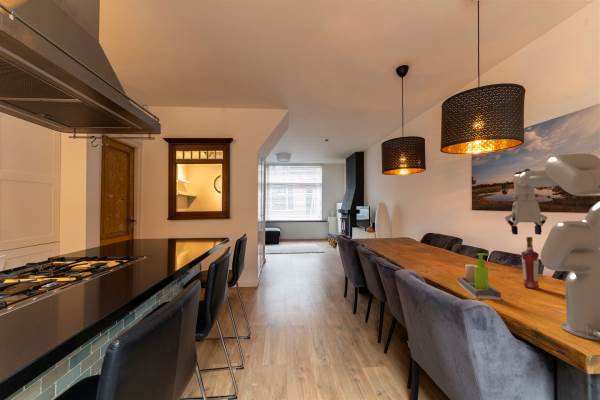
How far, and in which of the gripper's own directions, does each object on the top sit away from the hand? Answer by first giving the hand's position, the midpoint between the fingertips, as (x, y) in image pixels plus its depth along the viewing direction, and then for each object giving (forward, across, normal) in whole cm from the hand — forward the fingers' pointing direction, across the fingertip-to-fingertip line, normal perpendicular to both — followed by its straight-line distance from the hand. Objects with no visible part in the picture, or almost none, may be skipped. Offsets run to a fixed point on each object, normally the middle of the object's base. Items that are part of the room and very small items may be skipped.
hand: (526, 234), depth 126 cm
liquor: (+32, +14, +24) cm, 42 cm away
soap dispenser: (+31, -16, +9) cm, 36 cm away
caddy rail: (+32, -16, +14) cm, 39 cm away
